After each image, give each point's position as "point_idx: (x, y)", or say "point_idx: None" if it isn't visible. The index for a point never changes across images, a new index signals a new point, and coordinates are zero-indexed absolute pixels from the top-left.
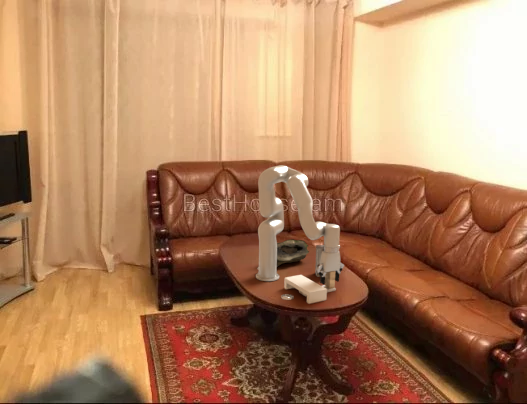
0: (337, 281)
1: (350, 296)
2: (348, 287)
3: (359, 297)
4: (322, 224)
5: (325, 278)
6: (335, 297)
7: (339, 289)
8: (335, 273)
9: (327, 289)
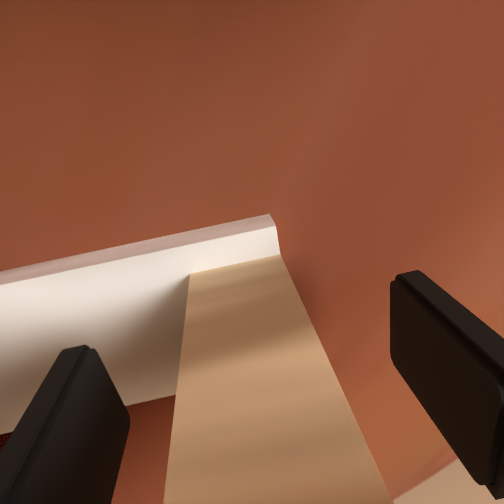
0: (392, 356)
1: None
2: (484, 294)
3: (398, 487)
4: None
5: (180, 367)
6: None
7: (351, 326)
8: (494, 421)
9: (174, 384)
